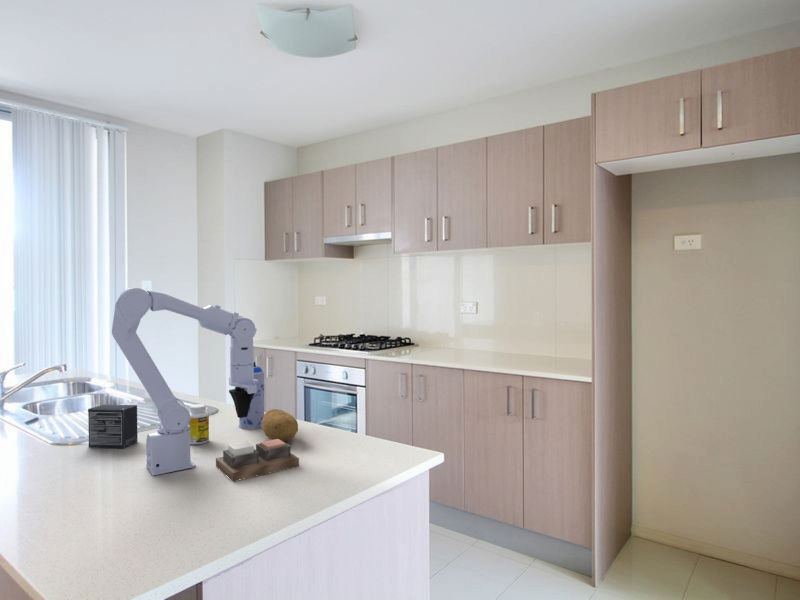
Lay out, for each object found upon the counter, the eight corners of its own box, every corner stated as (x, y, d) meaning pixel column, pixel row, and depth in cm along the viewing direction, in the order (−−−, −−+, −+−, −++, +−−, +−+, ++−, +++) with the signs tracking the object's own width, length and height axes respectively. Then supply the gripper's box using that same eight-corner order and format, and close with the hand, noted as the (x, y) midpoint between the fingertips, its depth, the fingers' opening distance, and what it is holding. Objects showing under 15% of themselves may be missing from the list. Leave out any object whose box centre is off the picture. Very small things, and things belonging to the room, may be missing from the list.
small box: (139, 441, 141) (138, 404, 141) (124, 449, 134) (123, 409, 134) (103, 440, 142) (103, 403, 142) (87, 447, 135) (86, 408, 135)
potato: (273, 450, 133) (272, 420, 133) (255, 437, 145) (254, 409, 145) (307, 443, 139) (306, 414, 139) (287, 431, 151) (287, 404, 150)
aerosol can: (238, 423, 159) (238, 360, 159) (264, 421, 161) (264, 359, 161) (238, 430, 152) (238, 364, 151) (265, 428, 154) (265, 363, 153)
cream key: (234, 458, 116) (234, 449, 116) (228, 452, 119) (228, 444, 119) (253, 454, 118) (253, 445, 118) (246, 449, 122) (246, 441, 122)
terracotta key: (268, 455, 121) (268, 446, 121) (260, 450, 124) (260, 442, 124) (285, 451, 123) (285, 443, 123) (278, 446, 127) (277, 438, 127)
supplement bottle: (198, 446, 136) (197, 408, 136) (182, 443, 139) (182, 406, 138) (213, 440, 142) (213, 404, 141) (198, 438, 144) (198, 402, 143)
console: (232, 481, 112) (232, 462, 112) (215, 466, 121) (215, 448, 121) (299, 466, 122) (298, 448, 121) (278, 453, 131) (278, 436, 131)
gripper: (268, 366, 125) (268, 420, 126) (247, 359, 137) (247, 408, 137) (240, 369, 121) (240, 425, 121) (220, 361, 133) (221, 412, 133)
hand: (242, 416), depth 129 cm, fingers closed
